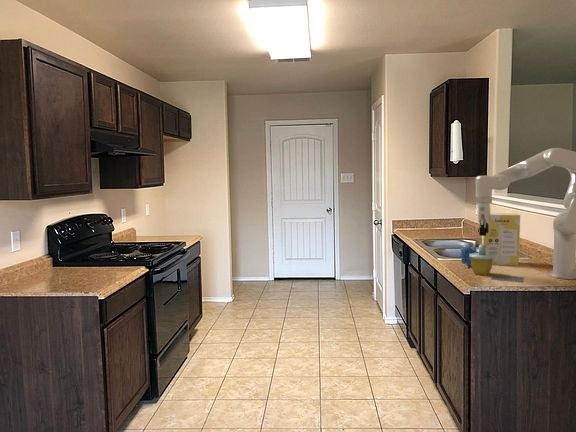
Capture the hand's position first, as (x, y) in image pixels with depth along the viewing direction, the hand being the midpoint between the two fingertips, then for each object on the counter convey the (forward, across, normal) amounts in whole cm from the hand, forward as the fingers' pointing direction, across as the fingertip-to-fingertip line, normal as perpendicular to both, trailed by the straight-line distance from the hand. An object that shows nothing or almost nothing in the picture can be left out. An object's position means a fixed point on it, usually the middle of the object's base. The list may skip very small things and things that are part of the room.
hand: (483, 234), depth 240 cm
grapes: (+21, +16, +9) cm, 28 cm away
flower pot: (+21, 0, +1) cm, 21 cm away
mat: (+21, -6, -11) cm, 25 cm away
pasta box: (+22, +36, -4) cm, 42 cm away
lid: (+12, 0, +1) cm, 12 cm away
